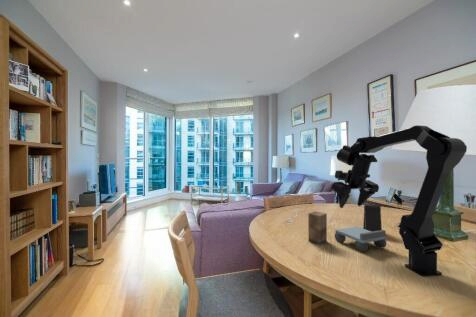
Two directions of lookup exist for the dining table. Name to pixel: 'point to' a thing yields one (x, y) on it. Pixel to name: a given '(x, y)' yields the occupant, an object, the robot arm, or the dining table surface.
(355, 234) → the dolly
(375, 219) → the door stopper
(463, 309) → the dining table surface
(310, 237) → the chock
